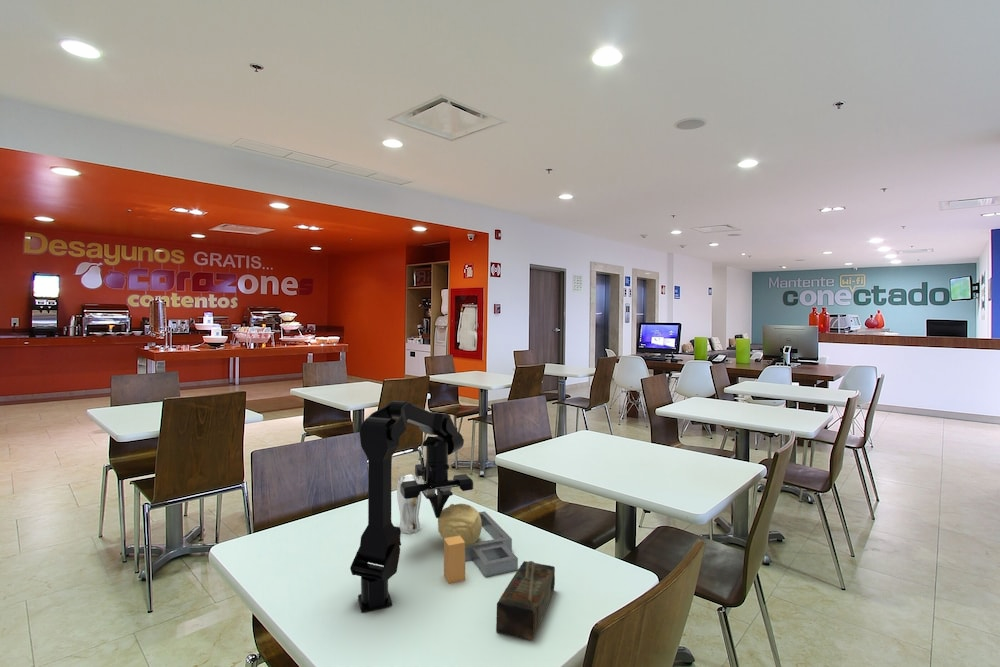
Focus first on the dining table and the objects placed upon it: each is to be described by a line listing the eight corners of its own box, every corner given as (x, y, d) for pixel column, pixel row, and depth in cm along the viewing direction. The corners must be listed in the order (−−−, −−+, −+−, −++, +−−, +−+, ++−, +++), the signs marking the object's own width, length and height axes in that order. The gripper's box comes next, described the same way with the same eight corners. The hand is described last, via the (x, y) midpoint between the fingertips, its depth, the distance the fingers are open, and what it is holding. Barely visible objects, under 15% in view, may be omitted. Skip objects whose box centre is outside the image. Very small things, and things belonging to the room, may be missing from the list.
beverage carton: (556, 591, 114) (556, 562, 113) (533, 644, 96) (533, 610, 95) (522, 584, 116) (522, 556, 116) (494, 635, 98) (494, 602, 98)
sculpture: (433, 551, 133) (432, 510, 132) (447, 531, 144) (447, 494, 144) (475, 555, 130) (475, 514, 130) (486, 535, 142) (485, 497, 142)
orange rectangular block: (465, 579, 118) (464, 542, 118) (448, 583, 117) (448, 545, 116) (460, 571, 122) (459, 535, 122) (444, 575, 120) (443, 538, 120)
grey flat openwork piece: (527, 568, 123) (527, 554, 123) (475, 579, 118) (475, 564, 118) (484, 522, 150) (484, 511, 150) (441, 530, 145) (441, 518, 145)
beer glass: (393, 532, 144) (392, 480, 143) (404, 522, 151) (403, 473, 150) (415, 535, 142) (414, 483, 141) (425, 525, 149) (425, 475, 148)
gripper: (460, 448, 145) (460, 502, 145) (396, 455, 138) (396, 511, 138) (474, 459, 135) (473, 516, 135) (404, 467, 127) (404, 527, 128)
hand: (437, 517), depth 134 cm, fingers closed
